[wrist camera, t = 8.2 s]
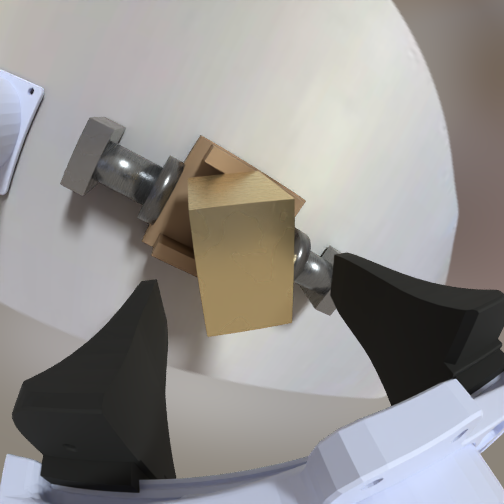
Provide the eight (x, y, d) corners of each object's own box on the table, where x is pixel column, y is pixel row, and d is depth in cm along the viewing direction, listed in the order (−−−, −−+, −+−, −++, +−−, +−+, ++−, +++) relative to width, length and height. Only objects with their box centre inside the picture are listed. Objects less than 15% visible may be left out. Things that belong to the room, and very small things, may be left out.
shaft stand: (68, 197, 17) (44, 216, 13) (119, 91, 15) (102, 85, 11) (301, 309, 25) (319, 339, 21) (356, 235, 23) (383, 258, 19)
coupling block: (262, 264, 19) (291, 322, 14) (199, 273, 19) (207, 336, 13) (258, 170, 17) (294, 198, 11) (187, 178, 16) (188, 210, 11)
